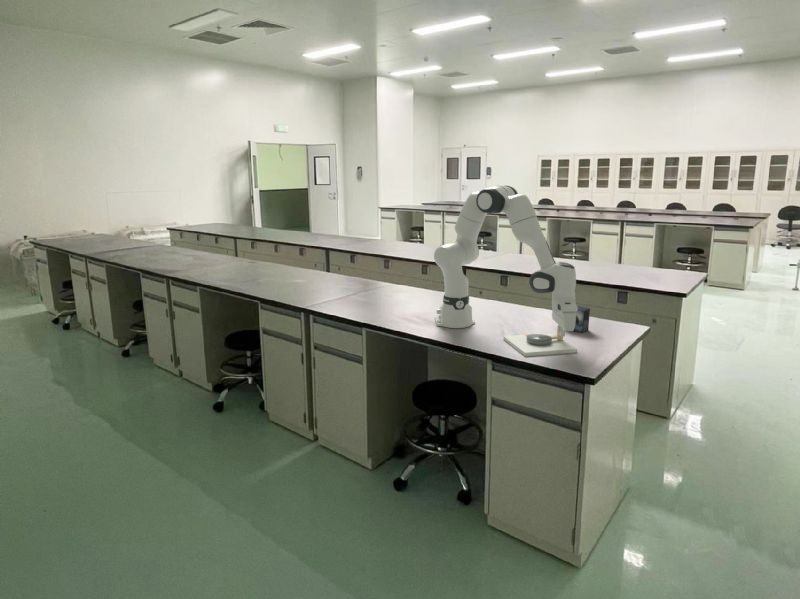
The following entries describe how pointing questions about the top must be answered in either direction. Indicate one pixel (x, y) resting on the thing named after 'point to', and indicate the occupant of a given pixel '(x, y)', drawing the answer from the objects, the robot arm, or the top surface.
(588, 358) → the top surface
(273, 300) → the top surface
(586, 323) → the small box
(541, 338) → the dial
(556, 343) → the dial plate
